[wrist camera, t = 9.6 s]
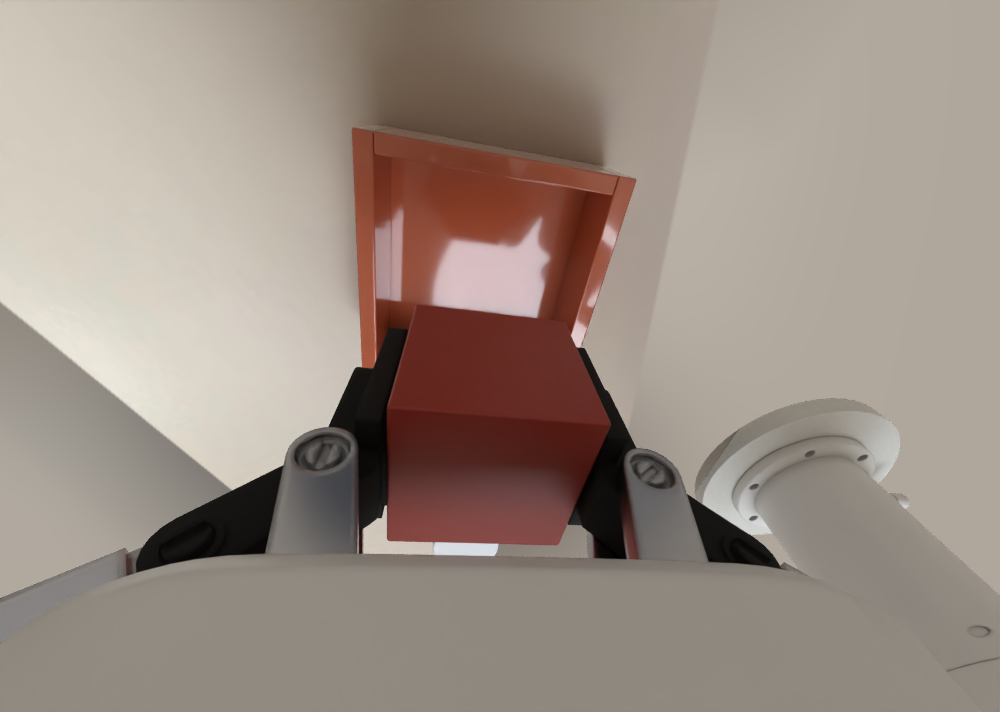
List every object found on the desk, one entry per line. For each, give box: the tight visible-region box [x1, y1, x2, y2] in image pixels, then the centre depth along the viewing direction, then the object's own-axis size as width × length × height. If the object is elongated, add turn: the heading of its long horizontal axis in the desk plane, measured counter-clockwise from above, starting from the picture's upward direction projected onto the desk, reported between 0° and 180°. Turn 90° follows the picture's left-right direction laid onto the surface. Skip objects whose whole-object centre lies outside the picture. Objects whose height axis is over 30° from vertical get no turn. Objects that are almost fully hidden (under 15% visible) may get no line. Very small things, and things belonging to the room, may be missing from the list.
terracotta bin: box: [352, 125, 636, 368], centre depth 20 cm, size 12×12×5 cm
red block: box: [387, 305, 611, 545], centre depth 10 cm, size 4×4×4 cm
